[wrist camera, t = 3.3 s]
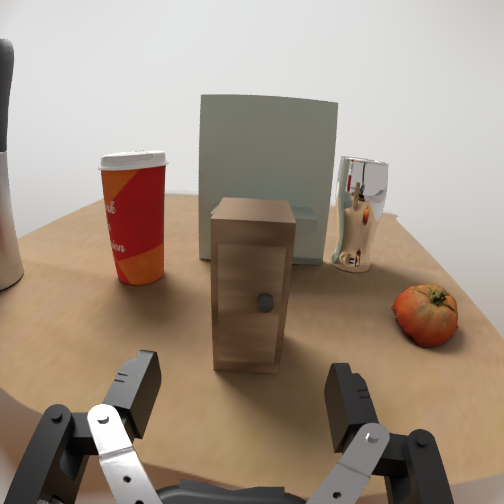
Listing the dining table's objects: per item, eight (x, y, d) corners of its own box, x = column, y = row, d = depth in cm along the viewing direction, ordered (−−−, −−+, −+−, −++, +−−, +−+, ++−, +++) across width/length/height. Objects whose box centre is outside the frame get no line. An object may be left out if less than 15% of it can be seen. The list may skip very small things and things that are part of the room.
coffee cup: (119, 261, 39) (110, 152, 34) (175, 260, 40) (172, 149, 35) (101, 290, 32) (85, 159, 26) (168, 291, 33) (162, 153, 27)
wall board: (190, 276, 36) (191, 88, 28) (205, 245, 46) (208, 99, 38) (329, 283, 36) (350, 98, 28) (315, 251, 46) (329, 106, 38)
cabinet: (211, 380, 21) (206, 224, 16) (222, 325, 28) (223, 197, 23) (278, 384, 21) (298, 229, 16) (275, 328, 28) (287, 200, 23)
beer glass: (318, 264, 42) (331, 155, 36) (337, 250, 47) (349, 156, 41) (364, 279, 38) (383, 164, 32) (378, 263, 43) (394, 164, 37)
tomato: (392, 335, 24) (412, 262, 26) (374, 340, 31) (393, 281, 32) (460, 357, 22) (476, 288, 24) (433, 359, 28) (448, 301, 30)
